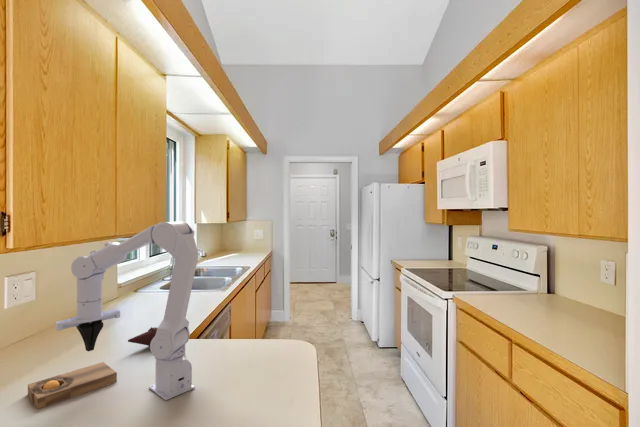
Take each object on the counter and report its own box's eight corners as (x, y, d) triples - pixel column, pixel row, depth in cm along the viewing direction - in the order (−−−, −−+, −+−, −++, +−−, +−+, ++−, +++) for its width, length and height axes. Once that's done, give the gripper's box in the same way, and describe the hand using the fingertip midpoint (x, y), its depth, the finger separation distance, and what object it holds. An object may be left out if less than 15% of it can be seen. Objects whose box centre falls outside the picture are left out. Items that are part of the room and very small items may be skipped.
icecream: (131, 337, 109) (180, 331, 118) (127, 325, 114) (174, 320, 124) (127, 356, 110) (176, 349, 119) (124, 343, 115) (171, 337, 125)
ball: (42, 398, 84) (60, 393, 86) (43, 383, 84) (60, 379, 87) (41, 395, 86) (58, 391, 89) (42, 381, 87) (59, 377, 89)
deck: (116, 381, 93) (116, 372, 93) (36, 409, 80) (36, 399, 80) (103, 370, 100) (103, 361, 100) (26, 394, 86) (26, 384, 86)
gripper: (113, 292, 100) (113, 338, 101) (52, 302, 89) (52, 354, 89) (123, 296, 96) (123, 344, 96) (60, 307, 85) (60, 362, 85)
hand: (89, 349), depth 92 cm, fingers closed
